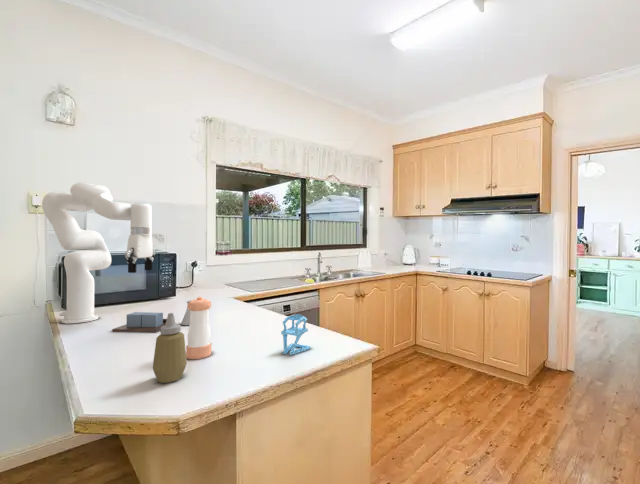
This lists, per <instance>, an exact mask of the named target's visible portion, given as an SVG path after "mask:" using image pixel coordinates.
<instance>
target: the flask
mask: <svg viewBox="0 0 640 484" xmlns="http://www.w3.org/2000/svg"><path fill="white" fill-rule="evenodd" d="M192 300H193V299H192ZM192 300H191V299H190V300H187V301H186V304H187V305H186V310H185V313H184V316H183V318H182V320H181V323H180V325H182V326H189V325H190V310H189V309H188V307H187V306H188V303H189V302H190V301H192Z"/></svg>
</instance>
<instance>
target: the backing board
mask: <svg viewBox="0 0 640 484" xmlns="http://www.w3.org/2000/svg"><path fill="white" fill-rule="evenodd" d="M166 321H167V318H163V325H160V326H158V327H126V326H127V323H126V324H123V325H120V326H117V327H115V328H112V329H111V331H112V332H115V333H116V332H117V333H158V332H161V327H163V326H165V324H166Z"/></svg>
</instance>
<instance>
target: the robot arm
mask: <svg viewBox="0 0 640 484" xmlns="http://www.w3.org/2000/svg"><path fill="white" fill-rule="evenodd" d="M113 199H114V198H113V195H112V194H111V191H110V189H109V188H108V187H107V186H106V185H103V184H98V183H92V182H82V181H80V182H76V183H74V184H72V185H71V187H70V189H69V192H67V191H51V192H48V193H46V194H45V195H44V196H43V197H42V200H41V201H42V202H41V208H42V211H43V212H42V213H43V214H44V216H45V217H46V219H47V220H48V222H49V223H50V224H51V226H52V228H53V231H54V233H55V236H56V237H57V239H58V242H59V244H60V247H62V249H64V250H65V251H70V252H68V253H67V254H66V255H65V256H64V259H63V265H64V270H65V274H66V310H63V311H61V312H59V314H58V316H60V317H63V318H62V319H61V323H62V324H67V325H69V324H82V323H87V322H92V321H96V320H98V319H99V315H98V314H95V291H96V290H95V288H96V287H95V284H96V283H95V278H94V276H93V274H92V273H91V271H102V270H105V269H108V268H109V267H110V266H111V265H112V255H111V252H110V250H109V248H108V247H107V243H106V241H105V239H104V237H103V235H102V234H101V233H100V232H98V231H96V230H93V229H82V228H81V227H80V226H79V224H78V221H77V220H76V218H75V217H74V216H72V215H71V214H69V212H79V213H80V212H81V213H83V212H89V211H92V210H93V211H94V212H95V214H97V215H99V216H101V217H103V218H106V219H109V220H115V221H130V234H129V236H128V240H127V244H126V251H125V252H124V253H123V255H124V257H125V261H126V263H127V273H129V274H135V273H137V267H138V266H137V260H138V259H144V260H145V261H144V271H153V267H154V265H153V263H154V259H155V257H156V253H157V251H156V250H155V249H154V246H153V245H154V244H153V236H152V233H153V232H152V229H153V228H152V223H153V220H152V219H153V208H152V205H151V204H150V203H145V202H143V203H140V202H135V203H129V202H121V201H120V202H119V201H113Z"/></svg>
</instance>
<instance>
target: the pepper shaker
mask: <svg viewBox="0 0 640 484" xmlns="http://www.w3.org/2000/svg"><path fill="white" fill-rule="evenodd" d="M189 301H190V300H189ZM187 307H188V309H189V310H190V325H188V331H187V345H185V349H186V359H188V360H199V359H205V358H207V357H210V356H212V343H211V327H210V322H209V321H210V317H209V316H210V309H211V307H212V302H211V300H210V299H207V298H203V297H202V296H198V297H196V298H194V299H192V301H190V302H189V303H188V306H187V305H186V308H187Z"/></svg>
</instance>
